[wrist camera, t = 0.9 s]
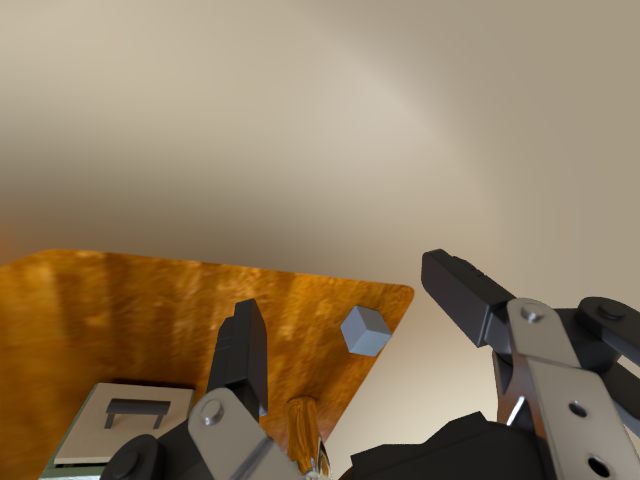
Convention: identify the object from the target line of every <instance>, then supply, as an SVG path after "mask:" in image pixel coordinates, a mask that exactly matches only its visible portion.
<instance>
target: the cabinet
mask: <svg viewBox="0 0 640 480" xmlns="http://www.w3.org/2000/svg"><path fill="white" fill-rule="evenodd" d="M98 384H99V383H96V384H95V385H94V387H93V389H92V390H91V392H90V394H89V395H88V397H87V399H86V400H85V402H84V404H83V405H82V407H81V409H80V410H79V412H78V414H77V415H76V417H75V419H74V420H73V422H72V424H71V425H70V427H69V429H68V430H67V432H66V434H65V435H64V437H63V439H62V440H61V442H60V444H59V445H58V447H57V449H56V450H55V452H54V454H53V455H52V457H51V459H50V460H49V462H48V464H47V465H46V467H45V469H44V471H43V472H42V474H41V476H40V477H39V480H99V479H100V476H101V474H102V472H103V470H104V468H105V467H106V466H94V467H68V468H63V466H64V464H54V460H55V457H56V455H57V454H58V452H59V450H60V448H61V447H62V445H63V443H64V442H65V440H66V438H67V437H68V435H69V433H70V431H71V430H72V428H73V426H74V425H75V423H76V421H77V420H78V418H79V416H80V414H81V413H82V411H83V409H84V408H85V406H86V404H87V403H88V401H89V399H90V397H91V396H92V394H93V392H94V391H95V389H96V387H97V385H98ZM194 394H195V391H194V390H193V391H192V395H191V399H190V403H189V407H188V411H187V416H186V419H187V418H189V415H190V411H191V406H192V402H193V398H194Z"/></svg>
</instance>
